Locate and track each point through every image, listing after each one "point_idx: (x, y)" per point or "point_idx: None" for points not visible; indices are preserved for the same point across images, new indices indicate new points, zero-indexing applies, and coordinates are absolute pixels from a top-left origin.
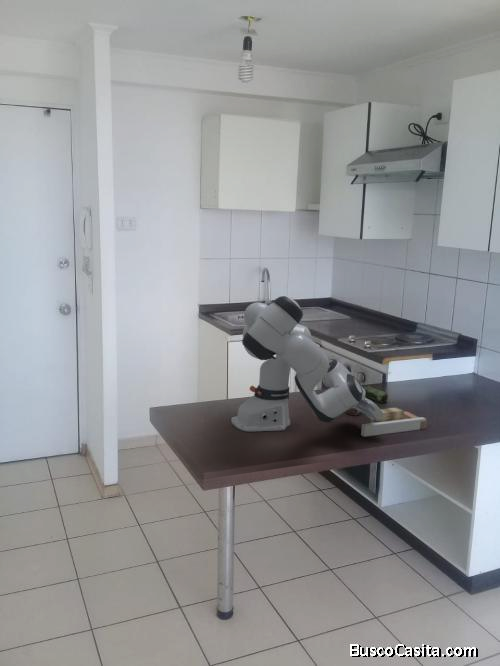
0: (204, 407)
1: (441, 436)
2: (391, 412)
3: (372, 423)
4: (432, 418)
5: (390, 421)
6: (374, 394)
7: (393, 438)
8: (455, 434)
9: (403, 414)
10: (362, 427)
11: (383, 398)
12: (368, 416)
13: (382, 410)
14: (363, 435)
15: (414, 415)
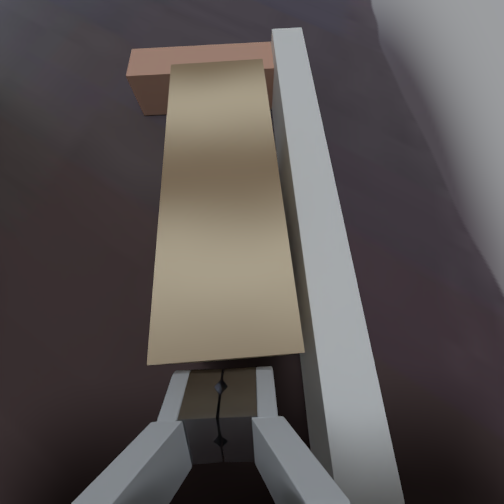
0: None
1: (394, 76)
2: (276, 165)
3: (344, 465)
4: (191, 15)
5: (311, 234)
6: None
7: (419, 310)
8: (374, 29)
9: (156, 80)
10: None
11: None
12: (218, 457)
13: (202, 223)
14: None
15: (203, 47)
